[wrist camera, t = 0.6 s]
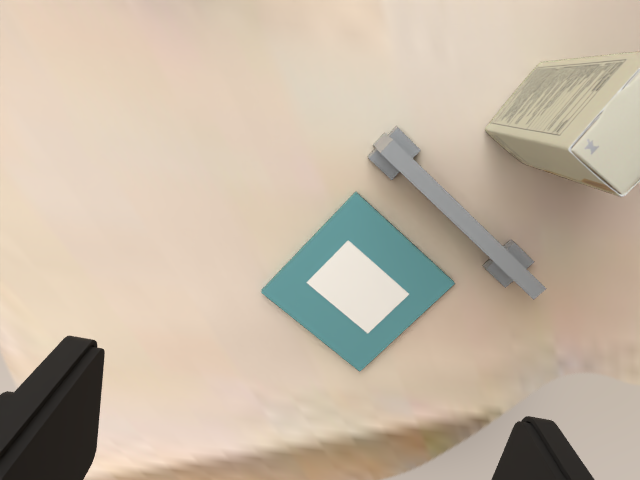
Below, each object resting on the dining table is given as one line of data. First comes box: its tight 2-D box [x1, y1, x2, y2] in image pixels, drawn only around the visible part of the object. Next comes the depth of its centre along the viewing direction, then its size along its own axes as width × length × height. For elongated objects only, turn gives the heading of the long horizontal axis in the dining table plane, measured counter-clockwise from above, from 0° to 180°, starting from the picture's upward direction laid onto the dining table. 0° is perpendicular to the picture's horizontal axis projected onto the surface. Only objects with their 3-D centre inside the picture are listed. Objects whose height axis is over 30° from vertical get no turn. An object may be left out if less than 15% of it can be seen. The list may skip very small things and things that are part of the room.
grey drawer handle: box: [367, 127, 546, 300], centre depth 36 cm, size 3×16×4 cm, turn 47°
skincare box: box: [485, 51, 640, 197], centre depth 30 cm, size 6×4×12 cm
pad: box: [261, 192, 455, 371], centre depth 40 cm, size 11×11×1 cm
